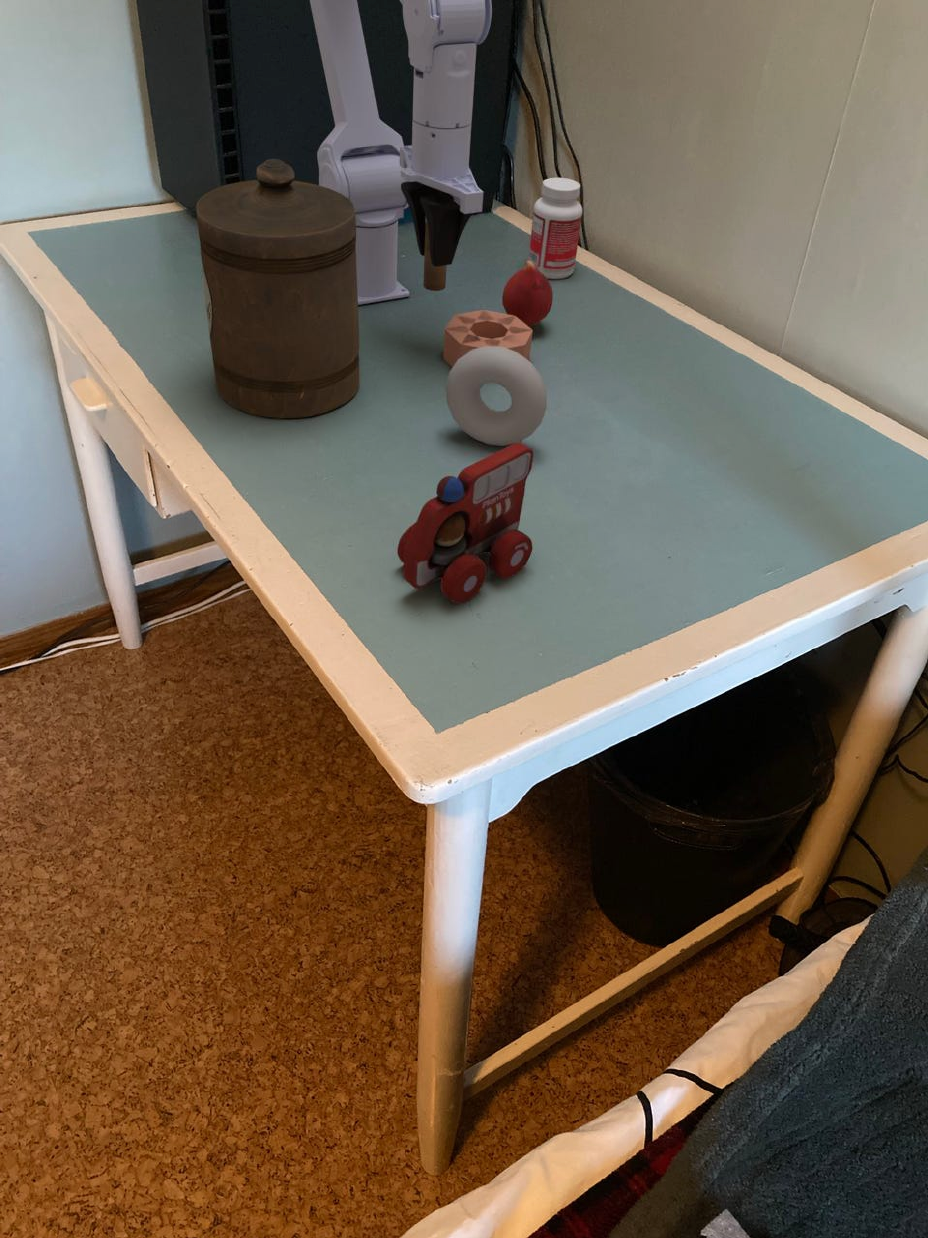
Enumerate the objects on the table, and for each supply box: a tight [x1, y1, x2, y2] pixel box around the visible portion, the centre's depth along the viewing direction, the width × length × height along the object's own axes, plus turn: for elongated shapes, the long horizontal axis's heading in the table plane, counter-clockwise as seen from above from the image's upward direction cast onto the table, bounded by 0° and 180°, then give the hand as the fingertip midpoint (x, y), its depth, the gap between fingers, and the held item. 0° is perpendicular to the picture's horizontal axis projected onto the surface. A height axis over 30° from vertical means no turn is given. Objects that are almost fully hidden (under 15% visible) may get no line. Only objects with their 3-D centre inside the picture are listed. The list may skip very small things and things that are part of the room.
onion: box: [501, 260, 554, 328], centre depth 111 cm, size 6×6×8 cm
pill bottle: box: [527, 177, 583, 280], centre depth 123 cm, size 6×6×11 cm
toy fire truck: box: [396, 442, 534, 604], centre depth 77 cm, size 7×12×10 cm, turn 132°
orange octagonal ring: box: [442, 309, 534, 369], centre depth 107 cm, size 9×9×4 cm
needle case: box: [422, 217, 448, 292], centre depth 102 cm, size 2×2×8 cm
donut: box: [445, 346, 548, 447], centre depth 92 cm, size 10×4×10 cm, turn 71°
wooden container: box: [195, 158, 360, 419], centre depth 94 cm, size 15×15×22 cm
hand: (435, 258), depth 102 cm, fingers closed on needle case, 2 cm apart
